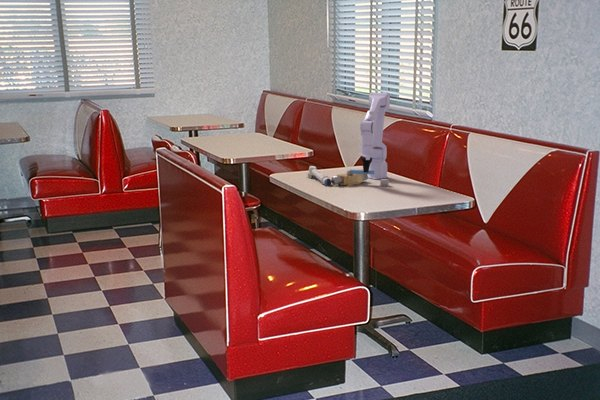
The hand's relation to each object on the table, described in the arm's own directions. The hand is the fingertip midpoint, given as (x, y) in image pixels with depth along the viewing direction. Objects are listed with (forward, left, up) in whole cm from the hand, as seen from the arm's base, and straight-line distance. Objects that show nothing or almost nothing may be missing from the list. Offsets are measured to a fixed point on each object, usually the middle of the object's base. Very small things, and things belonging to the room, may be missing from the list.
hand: (365, 172), depth 365 cm
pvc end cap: (-6, +7, -6) cm, 11 cm away
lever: (+1, -3, -2) cm, 4 cm away
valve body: (+5, -7, -6) cm, 10 cm away
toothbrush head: (+13, -20, -7) cm, 25 cm away
